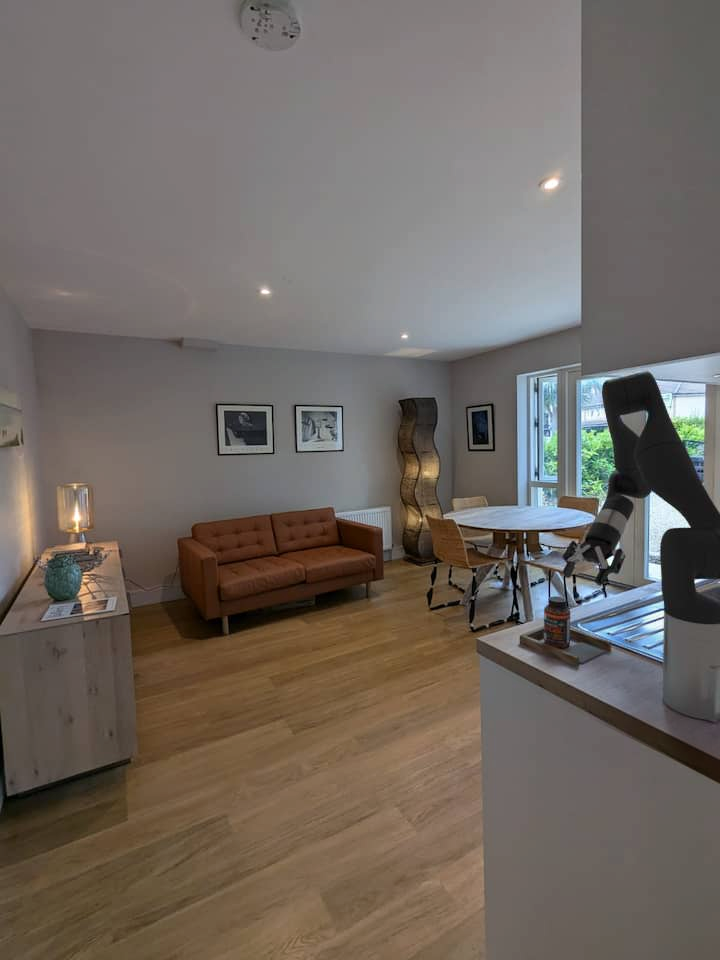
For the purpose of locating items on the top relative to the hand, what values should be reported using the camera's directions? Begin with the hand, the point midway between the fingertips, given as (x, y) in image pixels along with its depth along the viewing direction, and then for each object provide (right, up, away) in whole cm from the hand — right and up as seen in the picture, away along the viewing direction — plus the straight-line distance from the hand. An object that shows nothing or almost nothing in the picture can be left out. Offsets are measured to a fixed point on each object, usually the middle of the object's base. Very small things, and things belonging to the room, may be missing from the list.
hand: (581, 579), depth 116 cm
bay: (-7, -15, -7) cm, 18 cm away
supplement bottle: (-8, -15, -4) cm, 18 cm away
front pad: (-5, -15, -10) cm, 19 cm away
